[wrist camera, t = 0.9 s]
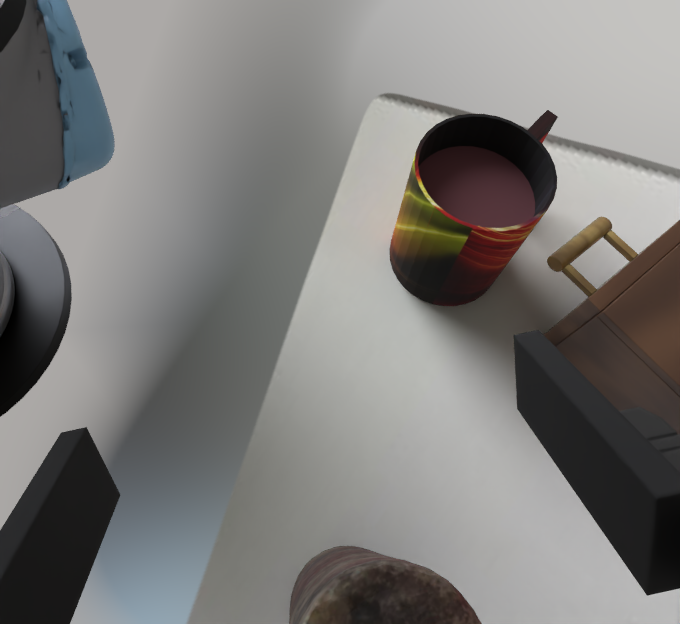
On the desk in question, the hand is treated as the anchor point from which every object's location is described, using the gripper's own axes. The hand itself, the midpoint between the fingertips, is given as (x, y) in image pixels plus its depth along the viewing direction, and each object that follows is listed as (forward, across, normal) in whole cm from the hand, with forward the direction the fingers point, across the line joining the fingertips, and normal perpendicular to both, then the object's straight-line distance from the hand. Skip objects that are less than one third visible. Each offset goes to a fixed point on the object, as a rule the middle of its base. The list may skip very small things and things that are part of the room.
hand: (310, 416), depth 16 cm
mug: (+31, +13, -6) cm, 34 cm away
